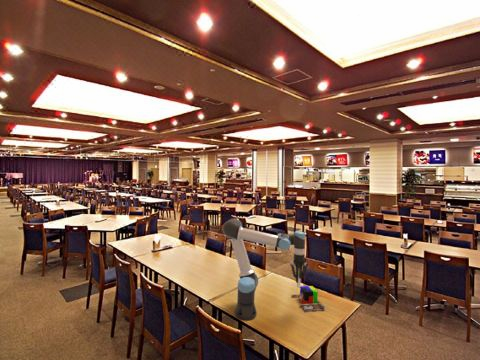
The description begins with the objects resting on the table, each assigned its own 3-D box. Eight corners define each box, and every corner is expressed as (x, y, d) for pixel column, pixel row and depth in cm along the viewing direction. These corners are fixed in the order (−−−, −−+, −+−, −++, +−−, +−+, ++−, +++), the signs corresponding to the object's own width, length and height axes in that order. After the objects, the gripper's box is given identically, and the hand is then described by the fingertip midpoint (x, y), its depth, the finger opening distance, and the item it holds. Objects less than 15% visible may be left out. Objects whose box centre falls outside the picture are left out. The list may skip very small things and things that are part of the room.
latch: (304, 311, 181) (305, 306, 181) (303, 309, 183) (303, 304, 183) (312, 310, 182) (312, 306, 182) (311, 309, 184) (311, 304, 184)
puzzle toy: (299, 299, 201) (300, 286, 201) (312, 298, 202) (312, 286, 202) (304, 305, 191) (304, 291, 191) (317, 305, 192) (317, 291, 192)
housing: (303, 313, 179) (304, 308, 179) (291, 297, 203) (291, 293, 203) (326, 312, 182) (326, 307, 182) (311, 296, 205) (311, 292, 205)
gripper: (292, 255, 177) (291, 289, 176) (310, 255, 179) (309, 288, 179) (288, 252, 184) (287, 285, 184) (305, 252, 186) (304, 284, 186)
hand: (298, 287), depth 181 cm, fingers closed
